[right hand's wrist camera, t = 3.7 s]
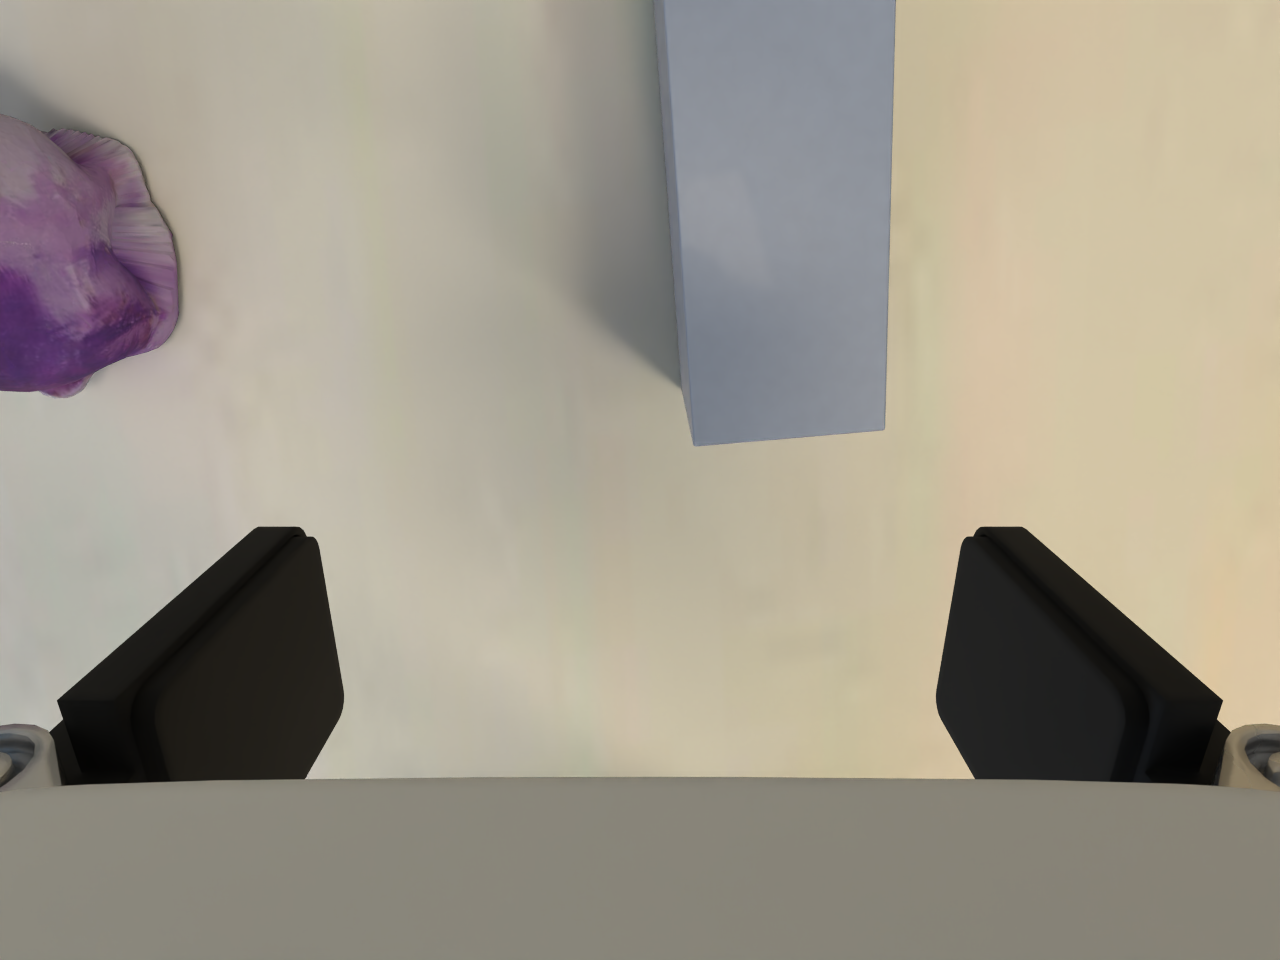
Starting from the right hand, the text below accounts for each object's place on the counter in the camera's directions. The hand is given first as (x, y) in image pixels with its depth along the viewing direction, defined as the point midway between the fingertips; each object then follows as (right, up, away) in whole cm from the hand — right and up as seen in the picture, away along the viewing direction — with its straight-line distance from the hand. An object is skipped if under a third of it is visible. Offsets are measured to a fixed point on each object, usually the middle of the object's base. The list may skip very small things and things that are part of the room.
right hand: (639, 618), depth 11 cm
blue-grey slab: (+4, +14, +20) cm, 25 cm away
